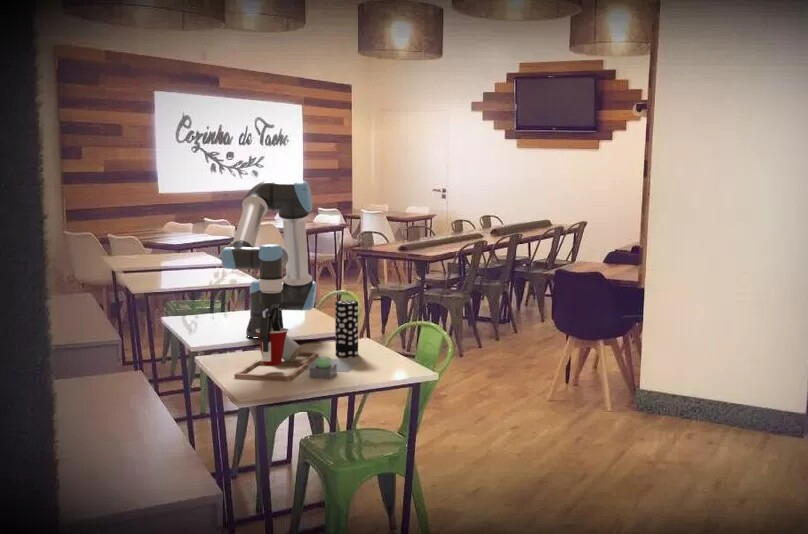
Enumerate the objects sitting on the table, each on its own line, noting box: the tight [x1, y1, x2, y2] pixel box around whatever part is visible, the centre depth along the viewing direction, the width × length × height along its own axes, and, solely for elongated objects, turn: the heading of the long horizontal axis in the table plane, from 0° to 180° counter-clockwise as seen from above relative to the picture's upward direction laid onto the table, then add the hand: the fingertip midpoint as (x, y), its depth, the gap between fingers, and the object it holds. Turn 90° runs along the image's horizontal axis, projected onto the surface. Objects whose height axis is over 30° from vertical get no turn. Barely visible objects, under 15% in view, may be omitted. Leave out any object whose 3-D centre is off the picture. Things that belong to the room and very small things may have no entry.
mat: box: [303, 358, 361, 373], centre depth 274 cm, size 16×16×1 cm
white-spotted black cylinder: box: [334, 299, 359, 359], centre depth 287 cm, size 8×8×20 cm
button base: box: [309, 364, 337, 380], centre depth 260 cm, size 7×7×4 cm
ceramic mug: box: [282, 334, 302, 362], centre depth 279 cm, size 11×8×8 cm
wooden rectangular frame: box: [234, 351, 319, 382], centre depth 271 cm, size 34×19×2 cm, turn 169°
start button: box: [315, 356, 332, 368], centre depth 259 cm, size 5×5×2 cm
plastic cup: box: [256, 327, 289, 367], centre depth 263 cm, size 11×11×12 cm
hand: (272, 357), depth 263 cm, fingers closed on plastic cup, 9 cm apart
